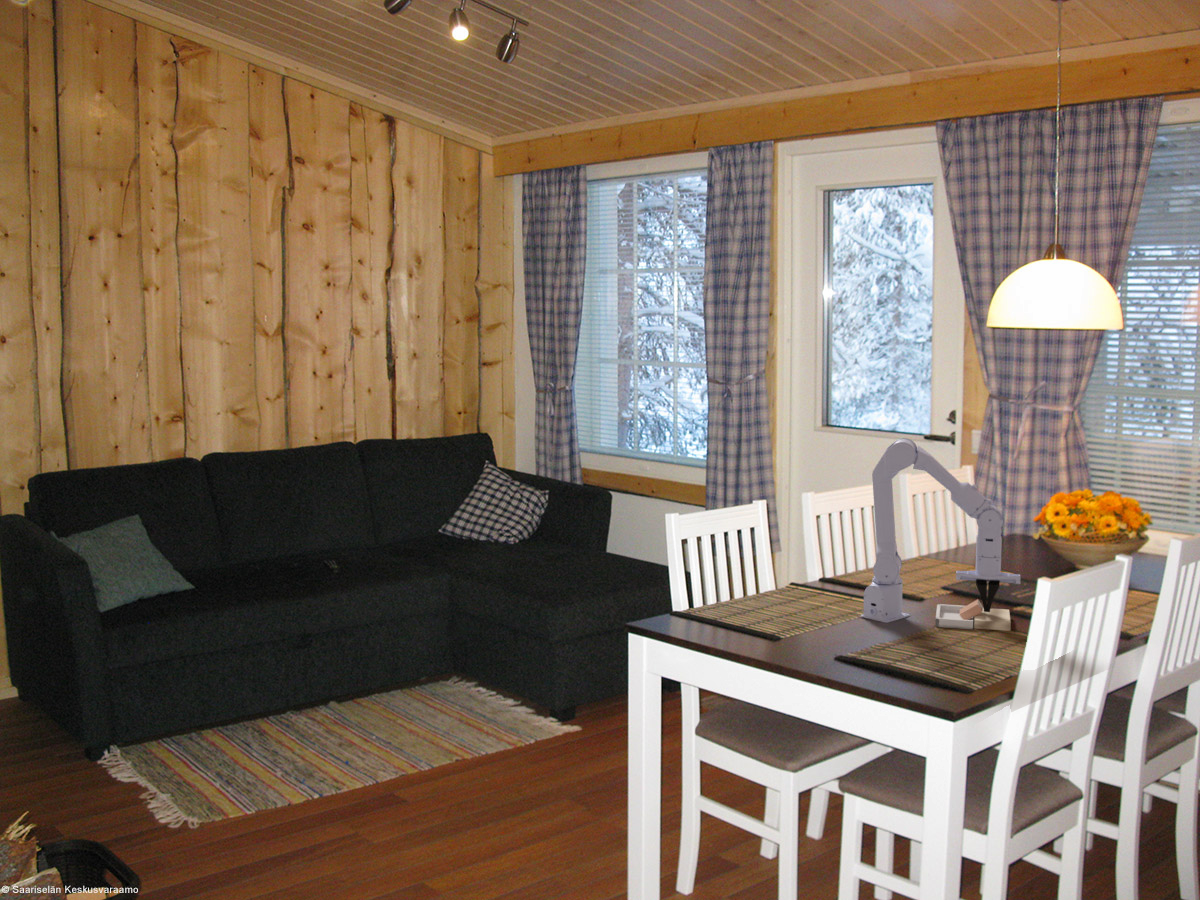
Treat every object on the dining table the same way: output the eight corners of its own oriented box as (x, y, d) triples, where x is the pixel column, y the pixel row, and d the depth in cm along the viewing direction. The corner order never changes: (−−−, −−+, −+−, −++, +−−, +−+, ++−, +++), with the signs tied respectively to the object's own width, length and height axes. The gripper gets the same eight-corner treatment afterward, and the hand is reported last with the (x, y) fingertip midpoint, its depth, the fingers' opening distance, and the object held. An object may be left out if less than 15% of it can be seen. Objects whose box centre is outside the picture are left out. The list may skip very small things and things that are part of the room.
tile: (964, 621, 266) (959, 614, 266) (964, 616, 270) (959, 609, 271) (982, 611, 264) (977, 604, 264) (982, 606, 269) (977, 599, 269)
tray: (935, 626, 264) (935, 618, 263) (937, 611, 277) (937, 603, 276) (973, 629, 261) (973, 621, 261) (972, 614, 274) (973, 606, 274)
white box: (974, 628, 262) (974, 620, 261) (974, 615, 273) (974, 607, 273) (1010, 630, 259) (1010, 622, 259) (1008, 617, 270) (1009, 609, 270)
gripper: (1020, 553, 266) (1018, 608, 268) (956, 550, 271) (955, 604, 272) (1021, 559, 259) (1019, 616, 261) (956, 556, 264) (955, 611, 266)
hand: (986, 610), depth 266 cm, fingers closed
